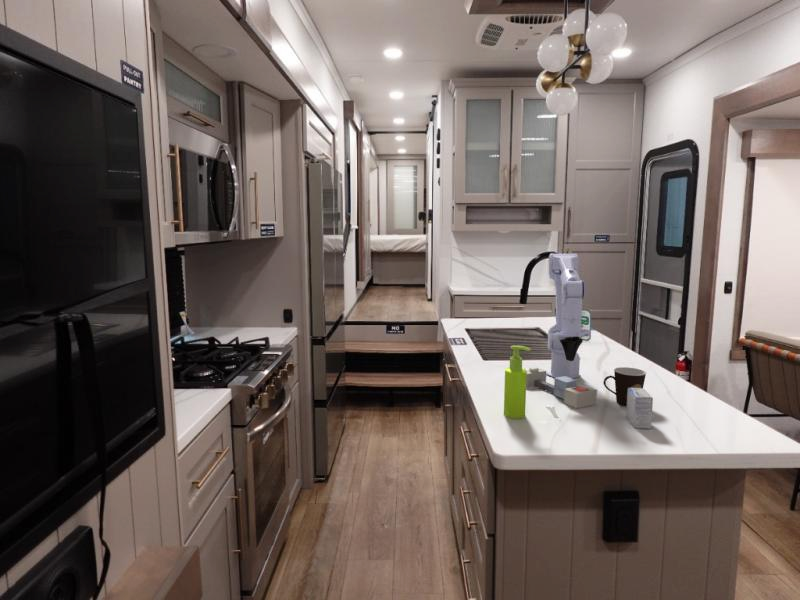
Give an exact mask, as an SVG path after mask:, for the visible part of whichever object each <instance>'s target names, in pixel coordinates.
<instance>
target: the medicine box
mask: <svg viewBox="0 0 800 600" xmlns="http://www.w3.org/2000/svg"><path fill="white" fill-rule="evenodd" d="M653 399H654V398H653V396H651V395H650V393H648V391H647V390H646V389H645V388H643V389H642V388H628V392H627V407H626V413H625V415H626V418H627V420H628V421H629V423H630V424H631V425H632V427H633V428H634V429H645V430H646V429H649V430H650V429H652V425H653V424H652V423H653V421H652V420H653V403H654V400H653Z"/></svg>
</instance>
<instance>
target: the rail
mask: <svg viewBox="0 0 800 600" xmlns="http://www.w3.org/2000/svg"><path fill="white" fill-rule="evenodd" d="M533 387H536V388H538V387H539V388H538V389H540V388H541V390H543V391H545V390H546V391H545V392H548V393H550V392H551V393H550V394H552V393H553V395H554V384H552V383H549V382H547V381H546V382H545V381H542V380H540V379H538V380H534V386H533Z"/></svg>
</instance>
